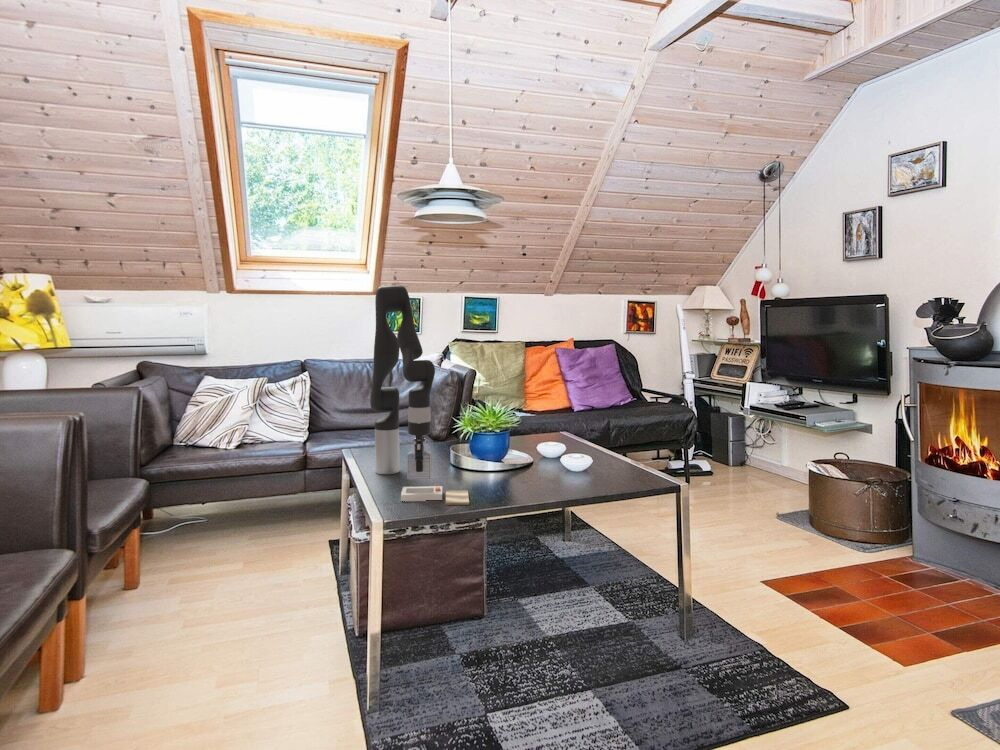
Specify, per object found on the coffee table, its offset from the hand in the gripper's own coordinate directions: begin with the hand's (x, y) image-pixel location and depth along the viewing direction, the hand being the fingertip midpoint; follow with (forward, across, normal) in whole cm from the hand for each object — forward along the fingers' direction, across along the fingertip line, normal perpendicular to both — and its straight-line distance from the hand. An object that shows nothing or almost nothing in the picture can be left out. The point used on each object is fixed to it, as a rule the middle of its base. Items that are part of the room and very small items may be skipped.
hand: (419, 469), depth 218 cm
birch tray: (+9, +3, +12) cm, 16 cm away
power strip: (+9, -4, +1) cm, 10 cm away
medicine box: (+3, 0, 0) cm, 3 cm away
